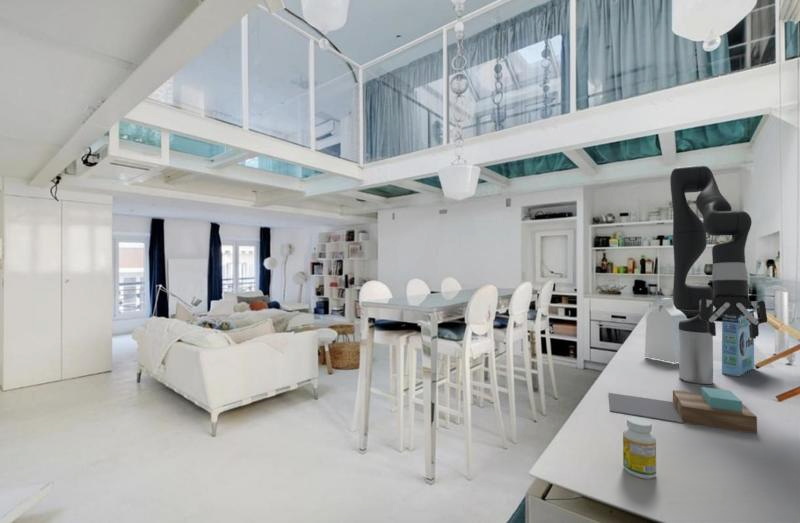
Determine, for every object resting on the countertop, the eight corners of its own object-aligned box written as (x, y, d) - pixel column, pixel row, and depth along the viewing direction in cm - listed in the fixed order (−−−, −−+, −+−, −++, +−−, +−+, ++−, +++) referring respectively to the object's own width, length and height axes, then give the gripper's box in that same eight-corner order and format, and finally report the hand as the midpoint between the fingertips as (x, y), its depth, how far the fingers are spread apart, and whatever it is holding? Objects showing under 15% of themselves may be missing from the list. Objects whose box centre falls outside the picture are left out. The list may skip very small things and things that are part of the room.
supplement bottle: (654, 483, 67) (654, 429, 67) (620, 472, 70) (620, 421, 70) (657, 470, 71) (657, 420, 71) (625, 461, 74) (625, 413, 74)
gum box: (738, 366, 146) (737, 308, 147) (755, 369, 142) (755, 309, 142) (721, 373, 136) (720, 311, 136) (739, 377, 131) (738, 313, 132)
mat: (608, 393, 114) (608, 392, 114) (672, 402, 106) (672, 401, 106) (610, 411, 100) (610, 410, 100) (683, 423, 92) (683, 422, 92)
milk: (674, 364, 148) (674, 300, 148) (644, 358, 158) (644, 298, 159) (690, 361, 154) (689, 299, 154) (660, 355, 164) (659, 297, 164)
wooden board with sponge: (672, 404, 105) (672, 389, 105) (737, 413, 99) (736, 398, 99) (682, 422, 93) (682, 406, 93) (757, 434, 86) (756, 417, 87)
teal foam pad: (701, 396, 100) (701, 387, 100) (730, 400, 98) (730, 390, 98) (710, 407, 92) (710, 397, 93) (741, 411, 90) (741, 401, 90)
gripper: (757, 280, 105) (761, 338, 103) (695, 280, 112) (697, 334, 110) (768, 278, 99) (772, 340, 97) (701, 278, 105) (703, 335, 104)
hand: (732, 337), depth 103 cm, fingers open, 8 cm apart
